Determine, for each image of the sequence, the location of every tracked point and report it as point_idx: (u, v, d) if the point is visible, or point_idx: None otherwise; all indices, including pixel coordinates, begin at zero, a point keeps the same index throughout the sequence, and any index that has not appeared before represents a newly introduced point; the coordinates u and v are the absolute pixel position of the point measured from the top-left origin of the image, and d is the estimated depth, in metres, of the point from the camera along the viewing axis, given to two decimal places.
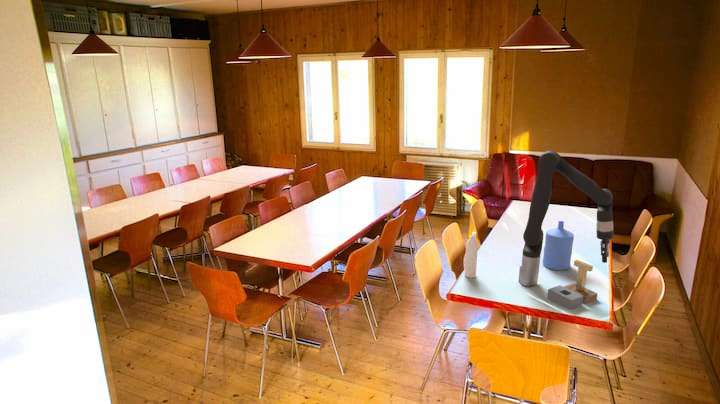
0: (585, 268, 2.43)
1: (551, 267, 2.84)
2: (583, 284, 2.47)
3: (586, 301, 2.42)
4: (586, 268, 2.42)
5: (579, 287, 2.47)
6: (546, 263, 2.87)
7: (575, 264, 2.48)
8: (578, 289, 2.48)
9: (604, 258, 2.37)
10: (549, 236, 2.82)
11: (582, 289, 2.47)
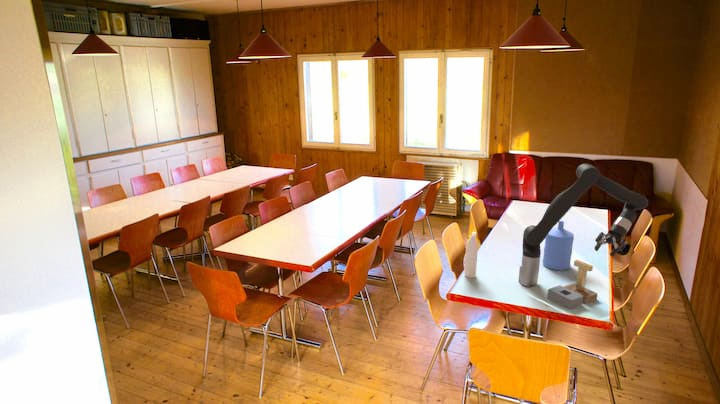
0: (585, 268, 2.43)
1: (551, 267, 2.84)
2: (583, 284, 2.47)
3: (586, 301, 2.42)
4: (586, 268, 2.42)
5: (579, 287, 2.47)
6: (546, 263, 2.87)
7: (575, 264, 2.48)
8: (578, 289, 2.48)
9: (615, 252, 2.40)
10: (549, 236, 2.82)
11: (582, 289, 2.47)
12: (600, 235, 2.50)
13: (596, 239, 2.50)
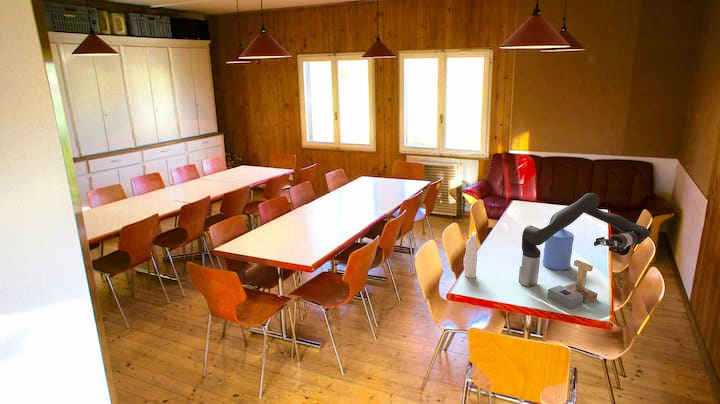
0: (585, 268, 2.43)
1: (551, 267, 2.84)
2: (583, 284, 2.47)
3: (586, 301, 2.42)
4: (586, 268, 2.42)
5: (579, 287, 2.47)
6: (546, 263, 2.87)
7: (575, 264, 2.48)
8: (578, 289, 2.48)
9: (614, 249, 2.46)
10: None
11: (582, 289, 2.47)
12: (601, 238, 2.58)
13: (597, 238, 2.57)
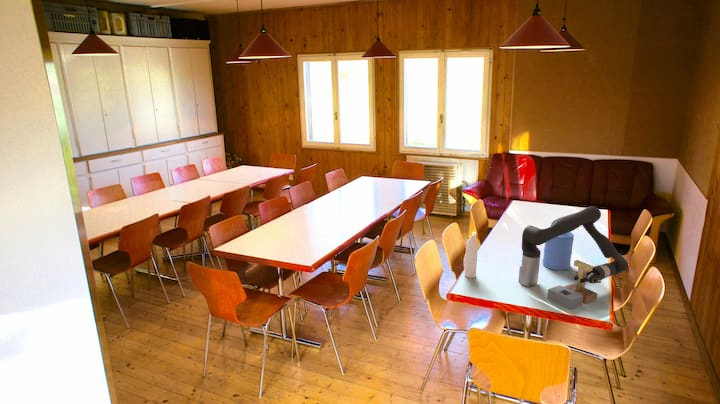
0: (585, 268, 2.43)
1: (551, 267, 2.84)
2: (583, 284, 2.47)
3: (586, 301, 2.42)
4: (586, 268, 2.42)
5: (579, 287, 2.47)
6: (546, 263, 2.87)
7: (575, 264, 2.48)
8: (578, 289, 2.48)
9: (585, 281, 2.45)
10: None
11: (582, 289, 2.47)
12: None
13: (577, 272, 2.51)
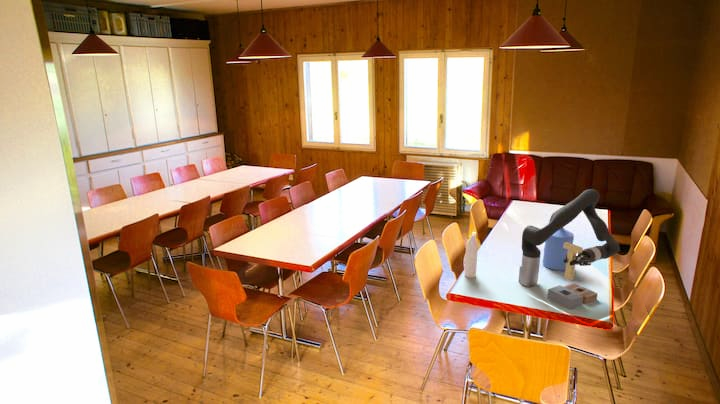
0: (575, 250, 2.35)
1: (551, 267, 2.84)
2: (573, 267, 2.39)
3: (586, 301, 2.42)
4: (576, 250, 2.34)
5: (569, 270, 2.39)
6: (546, 263, 2.87)
7: (564, 246, 2.40)
8: (568, 272, 2.40)
9: (575, 263, 2.37)
10: None
11: (572, 272, 2.39)
12: None
13: None
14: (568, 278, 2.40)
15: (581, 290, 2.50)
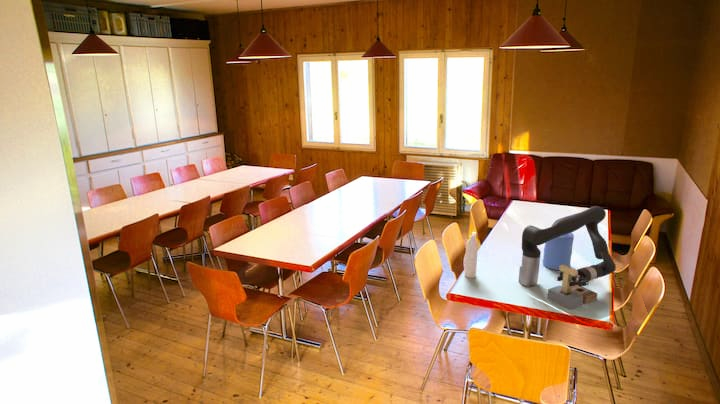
0: (570, 273, 2.37)
1: (551, 267, 2.84)
2: (568, 289, 2.41)
3: (586, 301, 2.42)
4: (571, 273, 2.37)
5: (564, 292, 2.42)
6: (546, 263, 2.87)
7: (560, 269, 2.42)
8: None
9: (574, 284, 2.38)
10: None
11: (567, 294, 2.42)
12: None
13: (561, 272, 2.47)
14: None
15: (581, 290, 2.50)
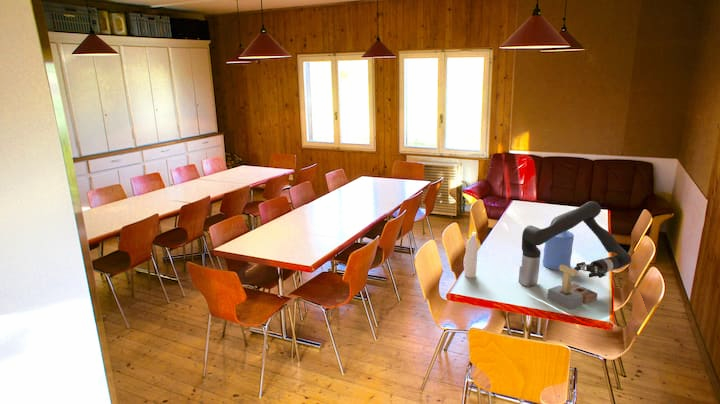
0: (570, 273, 2.37)
1: (551, 267, 2.84)
2: (568, 289, 2.41)
3: (586, 301, 2.42)
4: (571, 273, 2.37)
5: (564, 292, 2.42)
6: (546, 263, 2.87)
7: (560, 269, 2.42)
8: None
9: (594, 275, 2.43)
10: None
11: (567, 294, 2.42)
12: (582, 263, 2.55)
13: (578, 263, 2.54)
14: None
15: (581, 290, 2.50)
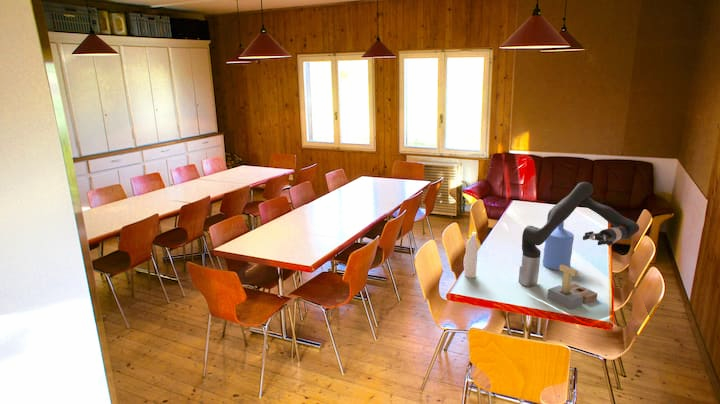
0: (570, 273, 2.37)
1: (551, 267, 2.84)
2: (568, 289, 2.41)
3: (586, 301, 2.42)
4: (571, 273, 2.37)
5: (564, 292, 2.42)
6: (546, 263, 2.87)
7: (560, 269, 2.42)
8: None
9: (603, 243, 2.43)
10: (549, 236, 2.82)
11: (567, 294, 2.42)
12: (590, 232, 2.55)
13: None
14: None
15: (581, 290, 2.50)
